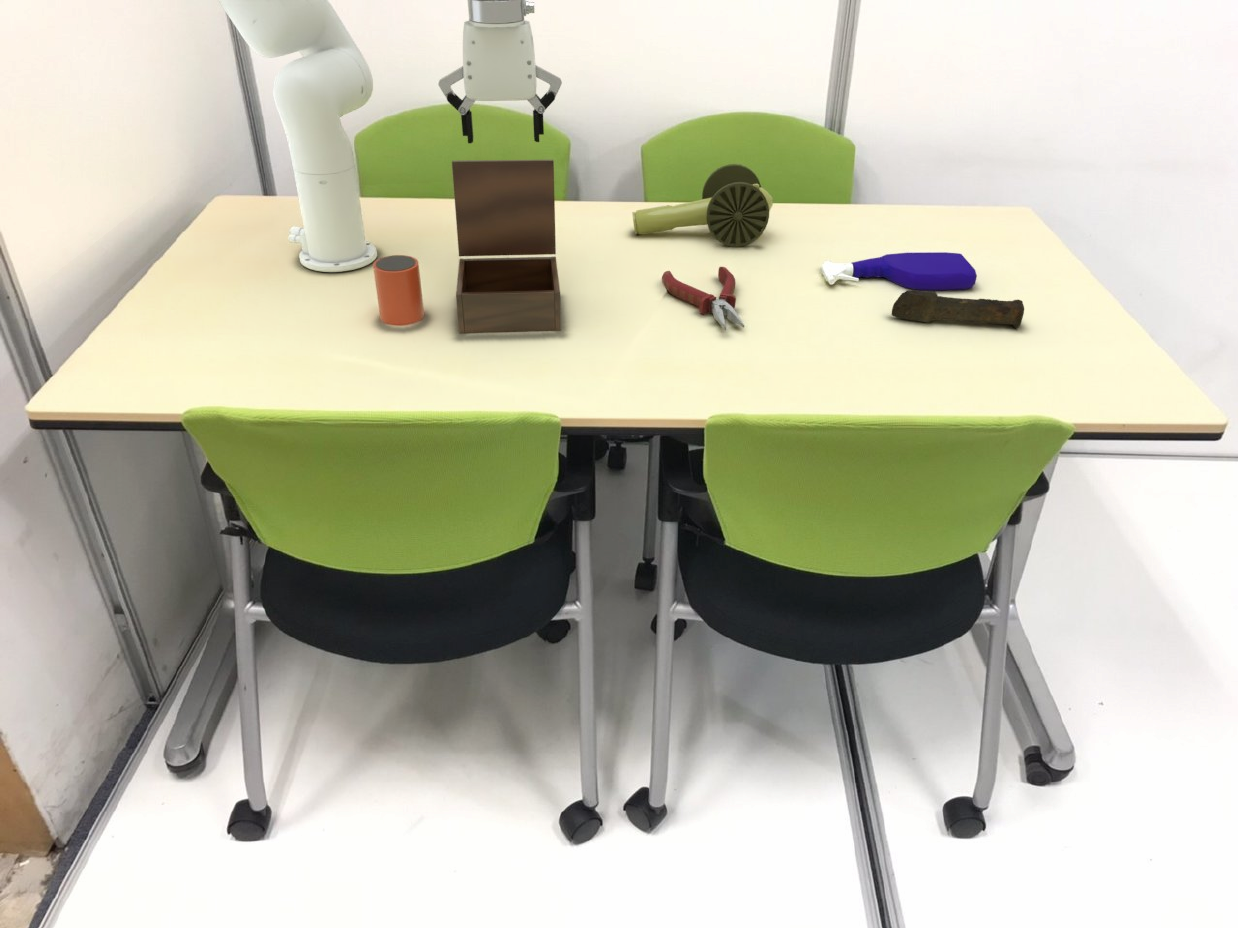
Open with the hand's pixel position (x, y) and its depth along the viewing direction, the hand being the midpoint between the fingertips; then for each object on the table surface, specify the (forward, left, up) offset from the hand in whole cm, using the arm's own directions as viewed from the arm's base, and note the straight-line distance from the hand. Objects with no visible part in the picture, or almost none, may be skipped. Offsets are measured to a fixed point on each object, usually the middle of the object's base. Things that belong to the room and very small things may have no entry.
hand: (503, 140), depth 136 cm
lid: (+2, -4, -9) cm, 10 cm away
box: (+4, -10, -23) cm, 26 cm away
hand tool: (+68, +11, -23) cm, 73 cm away
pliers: (+30, +4, -23) cm, 38 cm away
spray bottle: (+58, +25, -23) cm, 68 cm away
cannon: (+23, +33, -23) cm, 46 cm away
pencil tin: (-10, -17, -23) cm, 30 cm away
